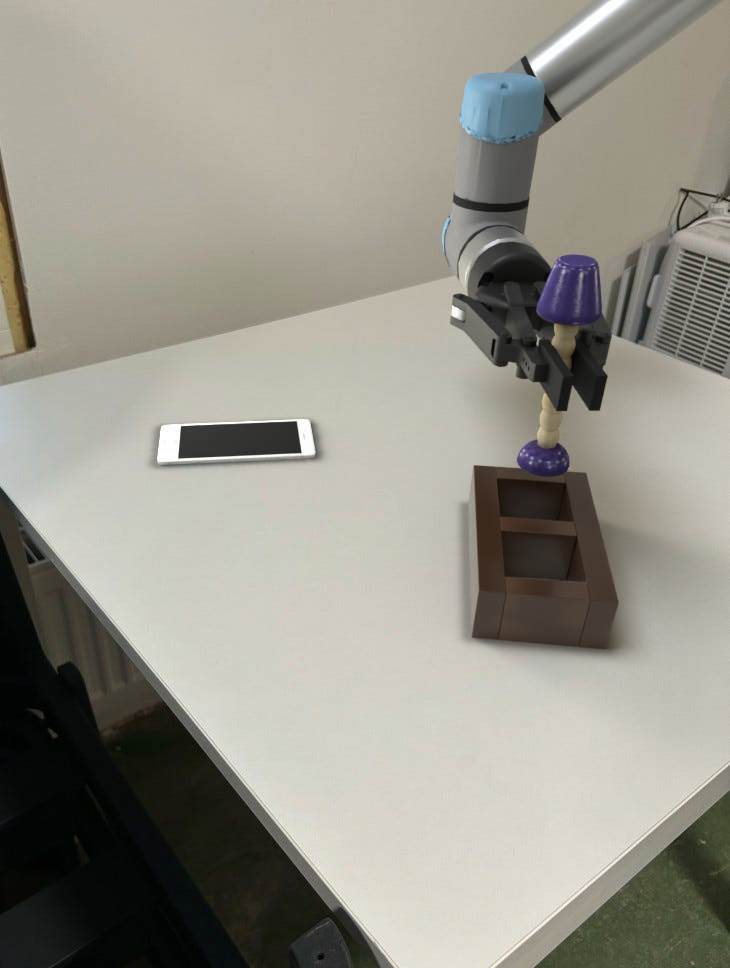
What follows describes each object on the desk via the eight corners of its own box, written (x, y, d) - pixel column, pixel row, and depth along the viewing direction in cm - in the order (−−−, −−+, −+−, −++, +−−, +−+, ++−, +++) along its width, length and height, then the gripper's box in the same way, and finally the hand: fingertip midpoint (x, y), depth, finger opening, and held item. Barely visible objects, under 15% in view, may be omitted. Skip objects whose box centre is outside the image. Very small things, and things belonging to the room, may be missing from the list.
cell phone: (162, 429, 89) (161, 424, 89) (309, 423, 91) (309, 418, 90) (157, 467, 83) (156, 461, 83) (316, 459, 84) (316, 454, 84)
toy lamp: (520, 479, 66) (561, 270, 56) (501, 450, 70) (536, 249, 60) (577, 475, 66) (627, 269, 57) (555, 447, 70) (598, 248, 60)
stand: (575, 518, 77) (586, 472, 74) (604, 653, 62) (619, 602, 59) (467, 510, 78) (473, 464, 75) (470, 641, 63) (478, 590, 60)
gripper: (575, 319, 80) (670, 439, 61) (424, 320, 79) (472, 442, 60) (591, 239, 75) (698, 342, 56) (431, 240, 75) (485, 344, 56)
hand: (581, 393), depth 58 cm, fingers closed on toy lamp, 2 cm apart
